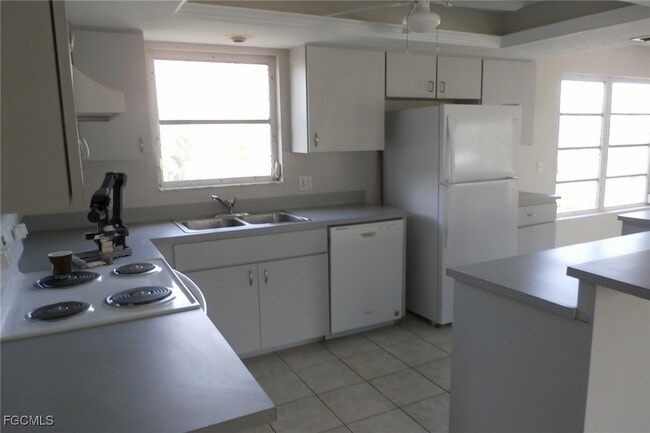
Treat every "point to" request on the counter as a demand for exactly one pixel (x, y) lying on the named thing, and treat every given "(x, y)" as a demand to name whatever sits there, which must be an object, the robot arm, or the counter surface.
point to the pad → (96, 263)
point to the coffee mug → (61, 262)
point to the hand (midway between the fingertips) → (106, 251)
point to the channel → (105, 256)
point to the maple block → (106, 246)
